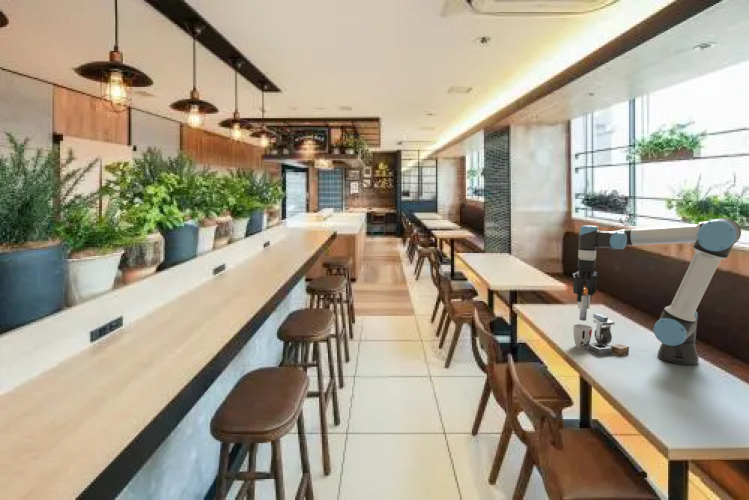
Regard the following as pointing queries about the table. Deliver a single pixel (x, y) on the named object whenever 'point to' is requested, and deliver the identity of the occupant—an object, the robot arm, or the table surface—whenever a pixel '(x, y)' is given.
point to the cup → (582, 335)
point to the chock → (620, 349)
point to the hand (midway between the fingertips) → (583, 308)
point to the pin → (584, 305)
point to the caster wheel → (603, 329)
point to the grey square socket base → (600, 349)
